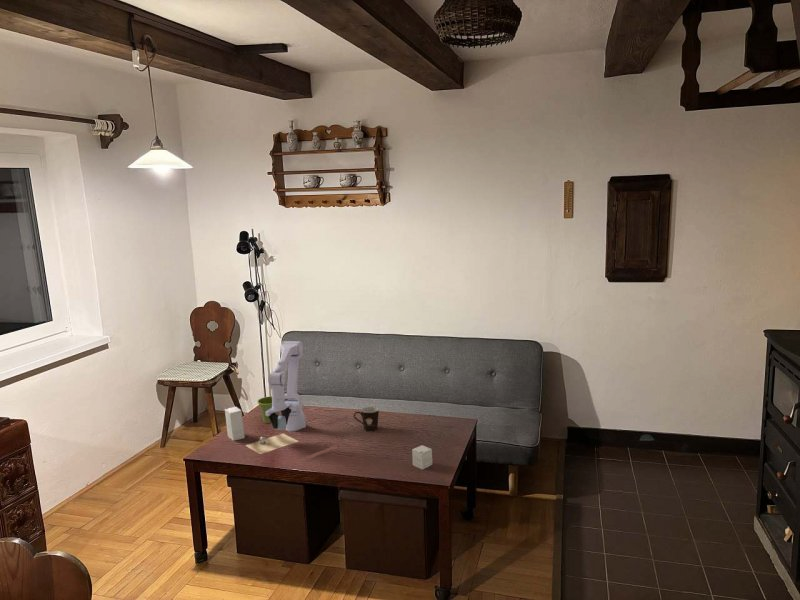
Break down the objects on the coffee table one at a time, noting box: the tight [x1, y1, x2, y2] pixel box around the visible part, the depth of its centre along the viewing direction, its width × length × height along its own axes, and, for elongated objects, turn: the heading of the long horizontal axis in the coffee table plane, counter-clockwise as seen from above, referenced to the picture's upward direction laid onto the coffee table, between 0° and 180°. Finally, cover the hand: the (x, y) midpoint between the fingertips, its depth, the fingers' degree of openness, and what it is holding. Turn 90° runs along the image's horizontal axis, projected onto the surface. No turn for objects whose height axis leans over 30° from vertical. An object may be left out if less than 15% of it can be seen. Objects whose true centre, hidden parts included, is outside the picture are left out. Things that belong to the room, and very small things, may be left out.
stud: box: [259, 435, 267, 445], centre depth 295 cm, size 3×3×3 cm
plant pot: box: [257, 395, 279, 424], centre depth 326 cm, size 12×12×11 cm
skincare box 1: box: [224, 406, 246, 441], centre depth 303 cm, size 8×6×15 cm
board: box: [244, 433, 299, 455], centre depth 295 cm, size 20×14×1 cm
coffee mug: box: [353, 406, 380, 432], centre depth 310 cm, size 12×9×10 cm
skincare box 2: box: [411, 444, 433, 470], centre depth 268 cm, size 6×6×7 cm
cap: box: [275, 415, 286, 431], centre depth 293 cm, size 5×5×5 cm
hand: (280, 426), depth 293 cm, fingers closed on cap, 5 cm apart
